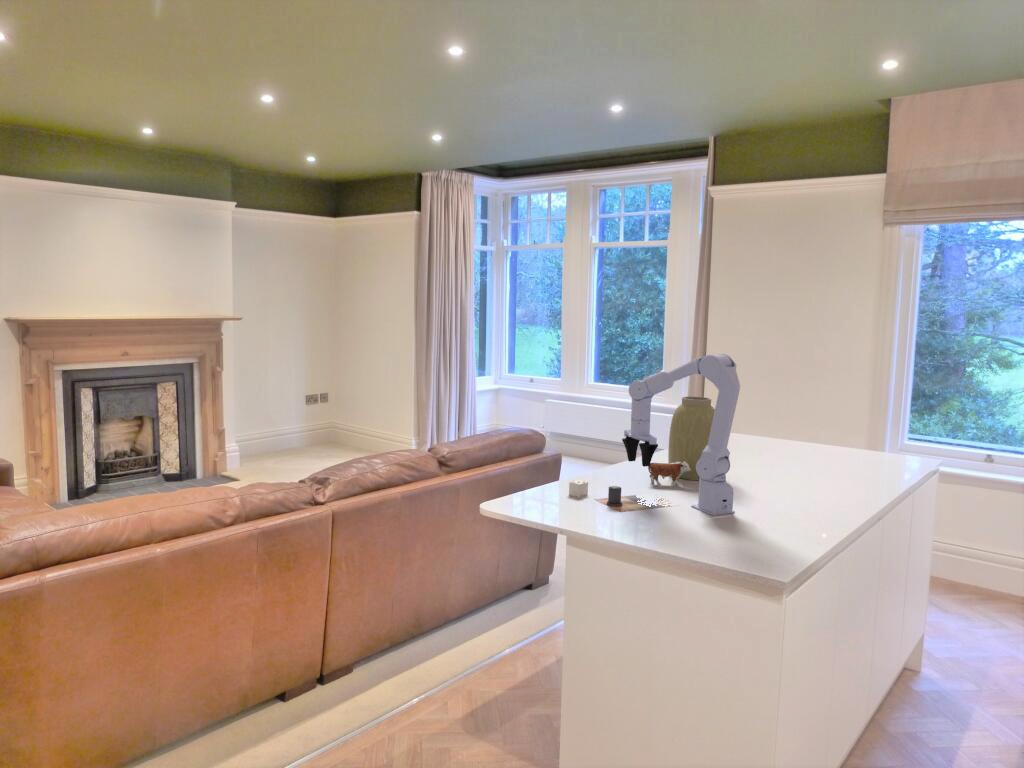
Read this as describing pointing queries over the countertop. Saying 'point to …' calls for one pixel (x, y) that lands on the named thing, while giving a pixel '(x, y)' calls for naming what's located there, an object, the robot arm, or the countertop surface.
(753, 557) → the countertop surface
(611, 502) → the dark grey rounded knob
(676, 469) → the bull figurine
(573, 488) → the die
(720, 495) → the robot arm
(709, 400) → the vase
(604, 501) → the track board
